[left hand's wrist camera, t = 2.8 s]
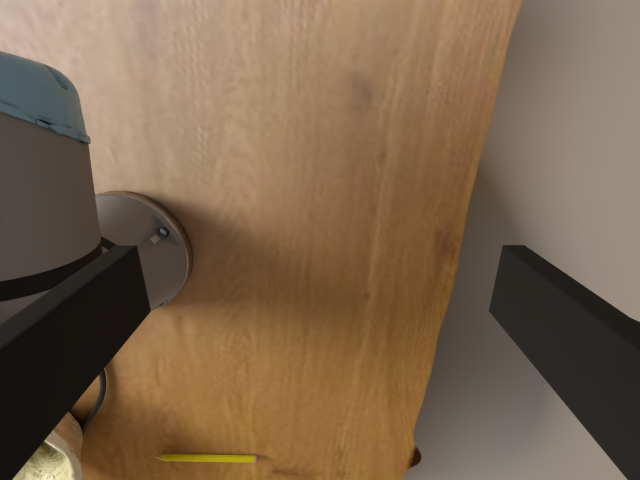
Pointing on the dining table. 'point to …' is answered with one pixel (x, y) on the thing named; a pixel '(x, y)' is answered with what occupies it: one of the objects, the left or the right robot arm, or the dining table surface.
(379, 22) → the dining table surface
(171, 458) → the pencil
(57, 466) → the bowl
